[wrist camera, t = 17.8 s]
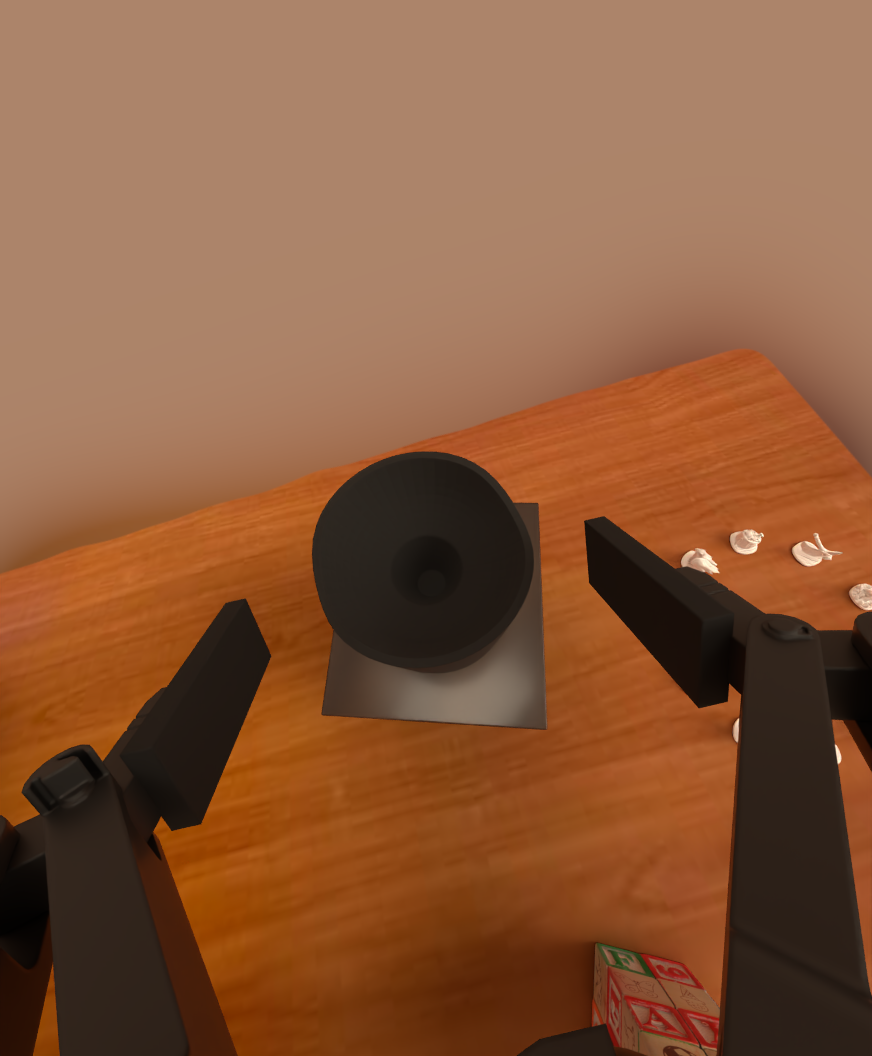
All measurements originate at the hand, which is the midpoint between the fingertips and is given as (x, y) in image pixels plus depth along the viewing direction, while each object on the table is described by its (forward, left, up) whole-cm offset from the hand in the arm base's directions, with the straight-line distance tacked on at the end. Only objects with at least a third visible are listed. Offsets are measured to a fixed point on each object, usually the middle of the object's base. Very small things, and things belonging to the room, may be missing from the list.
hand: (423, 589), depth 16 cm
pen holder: (0, +2, -11) cm, 11 cm away
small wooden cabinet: (0, +2, -25) cm, 25 cm away
